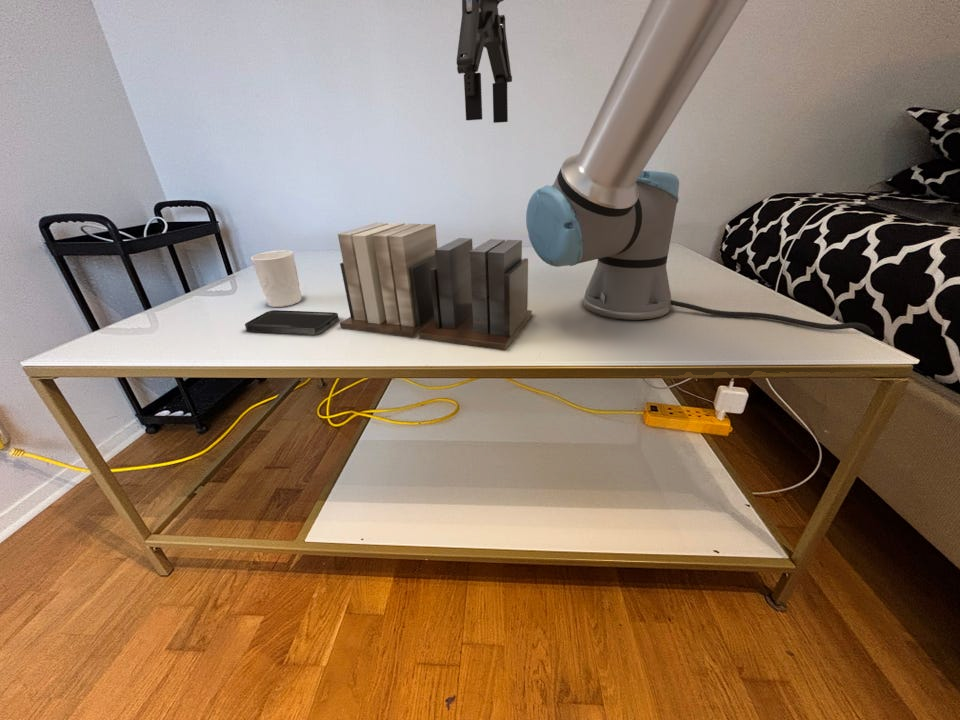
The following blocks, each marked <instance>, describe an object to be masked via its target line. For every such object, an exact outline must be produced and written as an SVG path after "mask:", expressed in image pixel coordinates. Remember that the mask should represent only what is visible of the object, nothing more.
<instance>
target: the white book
mask: <svg viewBox="0 0 960 720" xmlns="http://www.w3.org/2000/svg"><path fill="white" fill-rule="evenodd" d="M403 225H406V223H405V222H391V223H388V224H387V225H384V226H381V227H378V228H375V229H371V230H368V231H365V232H362V233H358V234H355V235H352V236H353V241H354V247H355V253H356V258H357V264H358V269H359V275H360V280H361V286H362V291H363V297H364V302H365V308H366V313H367V319H368V323H376V324H381V323H382V322H384V321H385V320H386V314H385V308H384V302H383V295H382V289H381V283H380V276H379V270H378V264H377V257H376V251H375V245H374V238H373V235H376V234H379V233H382V232H385V231H388V230H391V229H394V228H397V227H400V226H403Z"/></svg>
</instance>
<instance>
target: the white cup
mask: <svg viewBox="0 0 960 720" xmlns="http://www.w3.org/2000/svg"><path fill="white" fill-rule="evenodd" d="M250 259H251V262H252V266H253V269H254V272H255V274H256V277H257V279H258V283H259V286H260V288H261V290H262V293H263V294H264V296H265V300H266V302H267V305H268V306H269V307H273V308H283V307H288V306H292V305H295V304H298V303H300V302H301V301H302V299H303V298H302V292H301V289H300V279H299V274H298V269H297V265H296V260H295V254H294V251H291V250H271V251H265V252H261V253H257V254H254V255H252V256H251V257H250Z"/></svg>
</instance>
